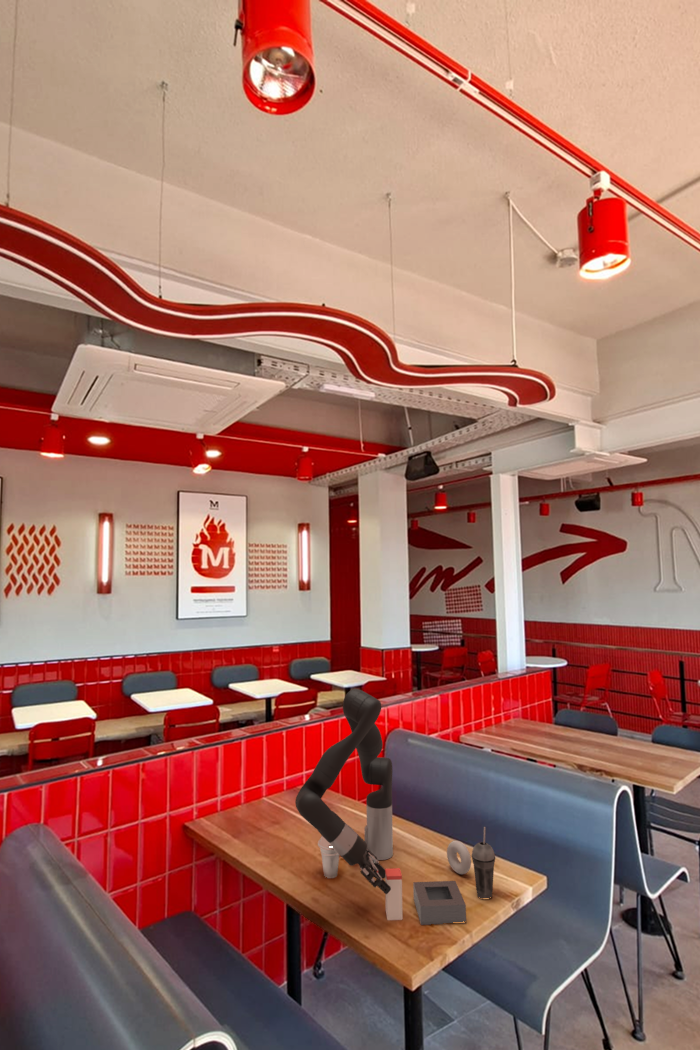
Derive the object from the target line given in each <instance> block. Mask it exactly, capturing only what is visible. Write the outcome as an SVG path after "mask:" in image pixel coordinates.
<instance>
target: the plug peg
mask: <svg viewBox="0 0 700 1050" xmlns="http://www.w3.org/2000/svg"><path fill="white" fill-rule="evenodd" d="M384 869H385V878H384V881H385V882H386V883H387V884H388V885H389V886H390V887H391V890H390V891H389V892H388V894H385V893H384V894H385V915H386V920H387V921H402V920H403V874H402V871H401V868H400V867H395V868H384Z"/></svg>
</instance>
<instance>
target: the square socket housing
mask: <svg viewBox="0 0 700 1050" xmlns="http://www.w3.org/2000/svg"><path fill="white" fill-rule="evenodd" d="M412 885H413V887H412V888H413V902H414V906H415V909H416V913H417V916H418V919H419V920H418V921H419V922H420V923H419V924H420V925H421V926H424V925H425V926H427V925H428V926H431V924H434V925H444V924H443V923H453V922H463V921H464V922H465V921H466V922H467V907H466V906H467V904H466V902H465V901H464V900H465V899H464V897H463V894H462V893H461V891H460V888H459V887H458V883H457V882H456V880H441V881H440V880H439V881H414V882H413V884H412Z"/></svg>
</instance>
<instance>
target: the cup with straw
mask: <svg viewBox="0 0 700 1050" xmlns="http://www.w3.org/2000/svg"><path fill="white" fill-rule="evenodd" d="M317 847H318V848H320V849H319V850H320V854H321V862H322V871H323V877H324V876H325V877H324V878H326V877H327V878H326V879H335V878H337V876H338V871H339V864H340V855H339V854H338V853H337V852H336V851H335V850H334V848H333V847H332V846H331V844H330V843H329V842H328V841H327V840H326V839H325V838H324V837H323V836H322V835H321V837H320V839H319V840H318V841H317Z"/></svg>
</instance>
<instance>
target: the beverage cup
mask: <svg viewBox="0 0 700 1050" xmlns="http://www.w3.org/2000/svg"><path fill="white" fill-rule="evenodd" d="M471 858H472V859H471V861H472V864H473V871H474V872H473V873H474V881H475V891H476V896H477V897H478V898H479V897H480V898H490V897H493V889H494V870H495V869H494V867H495V862H496V855H495V851H494V848H493V847H492V845H490V844H489V843H487V842H486V826H483V841H480V842H477V843H476V844H475V845H474V846H473V848H472V851H471ZM480 898H479V899H480Z"/></svg>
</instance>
